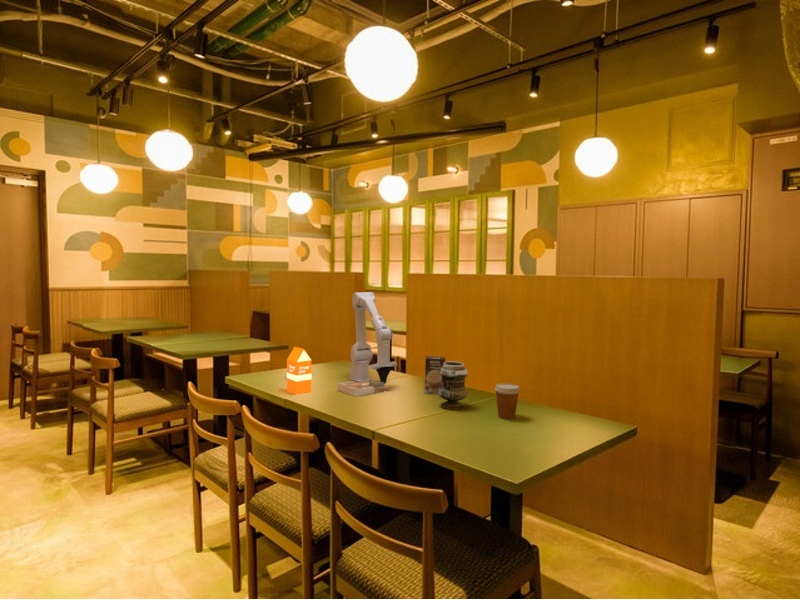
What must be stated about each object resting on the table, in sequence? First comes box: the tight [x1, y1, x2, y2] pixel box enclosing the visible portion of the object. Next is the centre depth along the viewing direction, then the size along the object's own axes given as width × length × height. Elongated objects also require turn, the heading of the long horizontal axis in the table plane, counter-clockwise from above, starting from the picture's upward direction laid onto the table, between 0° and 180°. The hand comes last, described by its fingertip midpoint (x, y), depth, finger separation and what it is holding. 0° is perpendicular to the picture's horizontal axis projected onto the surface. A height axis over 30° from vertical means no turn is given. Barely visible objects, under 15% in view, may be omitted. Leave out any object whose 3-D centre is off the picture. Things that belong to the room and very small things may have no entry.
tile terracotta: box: [347, 382, 362, 390], centre depth 236 cm, size 5×5×2 cm
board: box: [357, 380, 390, 394], centre depth 238 cm, size 15×8×2 cm, turn 40°
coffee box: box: [423, 355, 446, 395], centre depth 234 cm, size 9×6×16 cm
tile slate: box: [369, 379, 385, 388], centre depth 236 cm, size 5×5×2 cm
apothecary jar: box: [437, 360, 469, 410], centre depth 211 cm, size 12×12×18 cm
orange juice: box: [286, 346, 313, 395], centre depth 231 cm, size 8×9×20 cm
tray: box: [337, 380, 375, 398], centre depth 233 cm, size 15×10×4 cm, turn 40°
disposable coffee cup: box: [494, 382, 521, 420], centre depth 198 cm, size 10×10×12 cm
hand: (383, 383), depth 238 cm, fingers closed
